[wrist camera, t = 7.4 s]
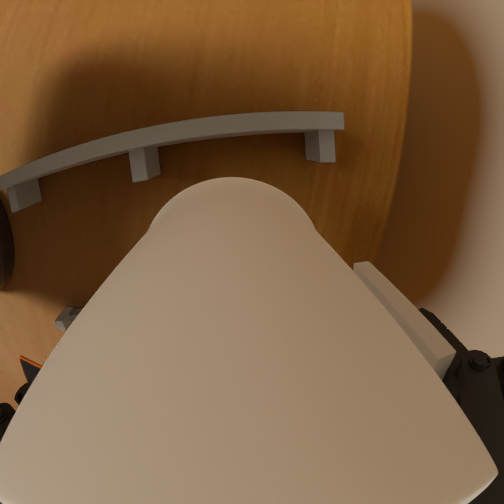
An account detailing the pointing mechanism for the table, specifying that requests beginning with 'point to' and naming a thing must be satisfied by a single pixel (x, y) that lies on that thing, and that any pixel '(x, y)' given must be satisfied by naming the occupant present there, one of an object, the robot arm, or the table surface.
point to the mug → (238, 377)
